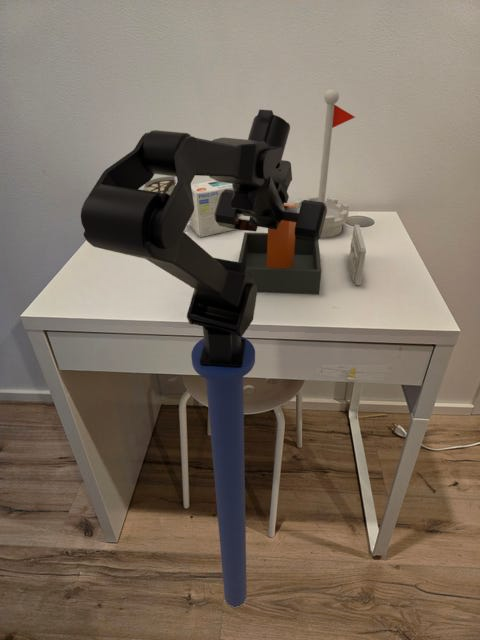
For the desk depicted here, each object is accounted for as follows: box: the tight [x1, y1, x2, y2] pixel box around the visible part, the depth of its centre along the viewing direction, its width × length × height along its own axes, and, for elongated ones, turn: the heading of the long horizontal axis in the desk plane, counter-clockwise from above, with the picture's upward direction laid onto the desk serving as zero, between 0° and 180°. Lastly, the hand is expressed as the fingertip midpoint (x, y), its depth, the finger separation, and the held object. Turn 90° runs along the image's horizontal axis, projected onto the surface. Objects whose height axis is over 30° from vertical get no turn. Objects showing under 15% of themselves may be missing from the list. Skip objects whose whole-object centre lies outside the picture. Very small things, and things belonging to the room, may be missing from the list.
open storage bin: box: [237, 231, 322, 295], centre depth 87 cm, size 15×15×5 cm
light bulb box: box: [190, 179, 236, 238], centre depth 103 cm, size 11×7×11 cm, turn 116°
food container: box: [143, 176, 177, 195], centre depth 106 cm, size 12×6×10 cm, turn 172°
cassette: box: [348, 223, 367, 286], centre depth 86 cm, size 12×2×8 cm, turn 174°
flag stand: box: [293, 88, 356, 239], centre depth 96 cm, size 13×13×30 cm
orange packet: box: [267, 203, 297, 269], centre depth 84 cm, size 5×4×13 cm
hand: (278, 232), depth 82 cm, fingers open, 9 cm apart
